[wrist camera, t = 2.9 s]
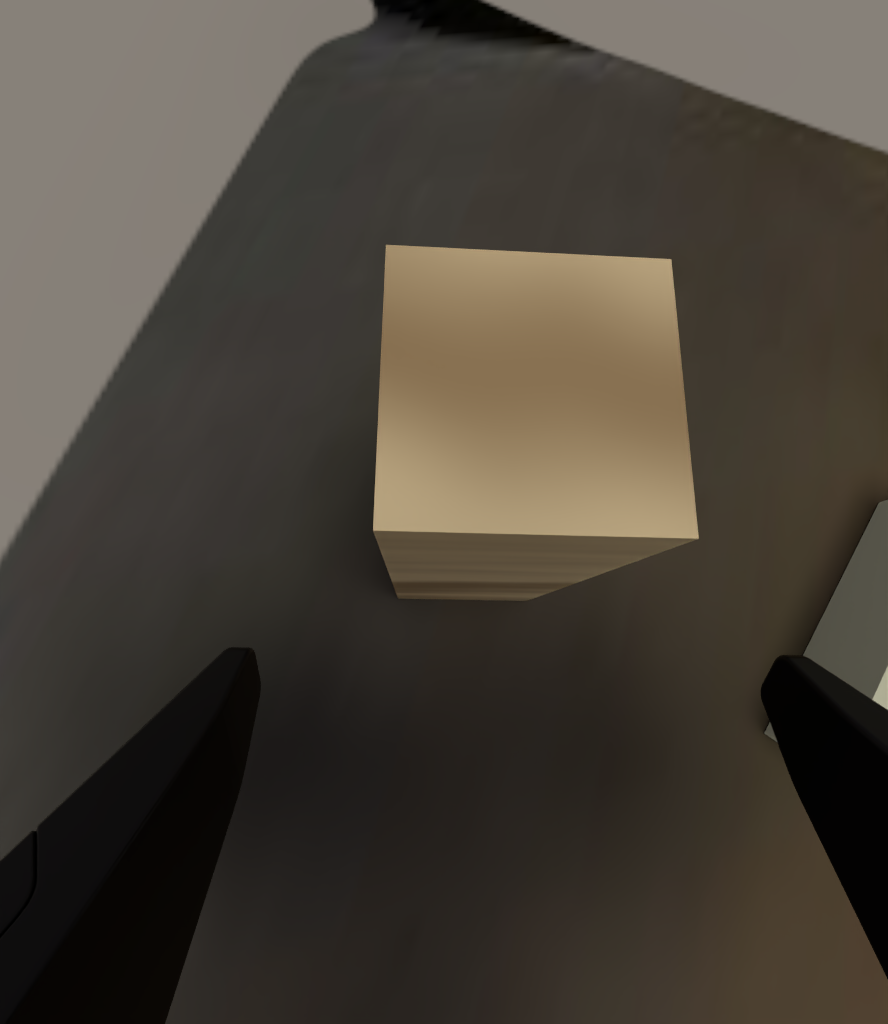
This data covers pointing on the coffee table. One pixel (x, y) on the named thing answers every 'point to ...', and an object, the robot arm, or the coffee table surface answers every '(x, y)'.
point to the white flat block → (858, 618)
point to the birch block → (527, 421)
